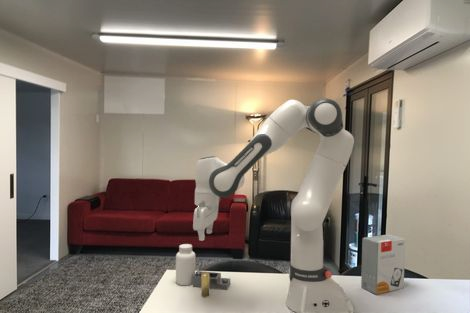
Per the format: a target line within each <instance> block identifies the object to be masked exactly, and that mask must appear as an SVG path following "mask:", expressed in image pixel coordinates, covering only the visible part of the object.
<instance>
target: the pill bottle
mask: <svg viewBox="0 0 470 313" xmlns="http://www.w3.org/2000/svg"><path fill="white" fill-rule="evenodd" d="M195 274H196V253H195V252H194V251H193V245H192V244H191V243H190V244H189V243H183V244H180V245H179V246H178V252H177V253H176V254H175V283H176V285H177V284H178V285H180V286H188V285H193V276H194V275H195Z"/></svg>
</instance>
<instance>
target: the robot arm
mask: <svg viewBox="0 0 470 313" xmlns="http://www.w3.org/2000/svg"><path fill="white" fill-rule="evenodd" d="M303 128H304V129H306V130H308V131H311V132H313V133H315V134H319V137H320V140H319V141H320V142H319V143H318V147H317V149H316V152H315V153H314V154H313V157H312V160H311V162H310V164H309V166H308V169H307V171H306V173H305V175H304V178H303V181H302V183H301V185H300V187H299V190H298V192H297V194H296V196H294V197H293V199H292V201H291V206H290V207H291V208H290V216H291V220H290V222H291V223H290V224H291V225H290V228H291V229H290V263H289V266H288V268H289V269H288V277H289V286H288V288H289V289H288V293H287V298H286V300H285V304H286V306H287V308H288V309H290V310H291V311H293V312H295V313H354V307H353V304H352V303H351V301H350V300H349V299H347V296H346V294H345V291H344V289H343V288H342V286H341V285H340V284H339V283H337V282H336V281H335V280H334V279H333V278H332V277H333V276H332V273H331V271H330V269H329V267H328V266H327V265H324V232H323V222H324V221H325V218H326V216H327V213H328V211H329V208H330V205H331V204H332V203H331V202H332V200H333V197H334V195H335V192H336V189H337V186H338V185H339V182H340V180H341V178H342V175H343V174H344V171H345V169H346V167H347V165H348V163H349V160H350V158H351V155H352V152H353V148H354V144H355V138H354V136H353V135H352V133H351V132H350V131H348V130H346V129H344V122H343V113H342V108H341V106H340V104H338V102H337V101H335V100H334V99H331V98H319V99H317V100H316V101H314V102H313V103H311V105H309V106H307V105H304V104H303V103H302V102H301V101H299V100H296V99H289V100H286V101H285V102H284V103H283V104H281V105H280V106H278V108H276V109H275V110H274V111H273V112H272V113H270V115H269V116H268V117H267V118H266V119H265V120H264V122H263V123H262V124H261V125H260V127H259V128H258V130H257V131H256V133H255V134H254V135H253V136H252V138H251V140H250V141H249V142H248V143H247V144H246V145H245V147H244V148H243V149H242V150H241V151H240V152H239V153H237V155H236V156H235V157H234V158H233V159H232V160H230V162H228V163H226V162H225V161H223V160H221V159H220V158H219V157H217V156H213V155H212V156H205V157H201V158H199V159H198V160H197V162H196V165H195V166H196V167H195V174H194V176H195V177H194V178H195V179H194V180H195V189H194V205H196V206H197V207H196V208H195V209H194V212H193V222H192V223H193V224H192V229H193V231H197V234H198V241H201V242H203V241H204V240H206V239H205V238H206V237H205V236H206V235H205V231H206V234H208V235H210V234H212V233H213V225H214V221H216V220H218V215H219V214H218V213H219V205H220V204H219V203H220V201H221V198H224V199H225V198H229V197H232V196H233V195H234V194H235V193H236V192H237V191H239V190H240V189H241V188H242V187H243V185H244V183H245V175H246V173H247V172H248V171H250V169H252V167H254V165H256V163H258V162H259V161H260V160H261V159H262V158H264V157H265V156H267V155H269V154H272V153H274V152H276V151H278V150H279V149H281V148H282V147H284V145H286V144H287V143H288V142H289V141H290V140H292V138H293V137H294V136H295V135H296V134H297V133H298V132H299V131H300V130H302V129H303ZM205 229H206V230H205Z"/></svg>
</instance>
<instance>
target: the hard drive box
mask: <svg viewBox="0 0 470 313" xmlns="http://www.w3.org/2000/svg"><path fill="white" fill-rule="evenodd" d="M361 242H362V243H361V246H362V247H361V279H360V287H361V288H362V289H364V290H366V291H368V292H371V293H372V294H374V295H380V294H385V293H389V292H392V291H398V290H400V289H401V290H402V289H405V288H404V286H405V283H404V282H405V253H406V252H405V251H406V238H404V237H401V236H397V235H393V234H390V233H388V234H382V235H375V236H367V237H362V241H361Z"/></svg>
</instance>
